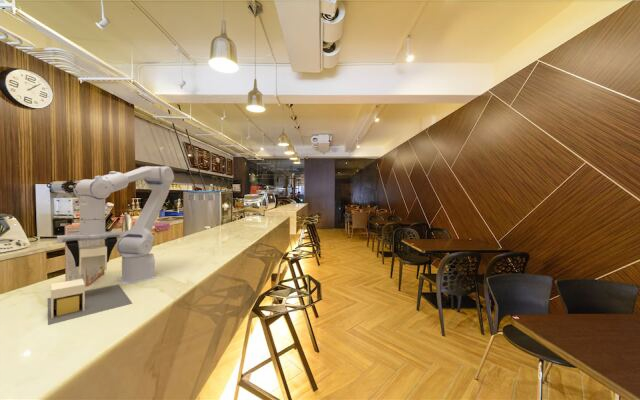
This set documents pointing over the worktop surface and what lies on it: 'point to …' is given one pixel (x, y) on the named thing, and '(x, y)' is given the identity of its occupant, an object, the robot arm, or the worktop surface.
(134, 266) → the robot arm
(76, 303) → the cube
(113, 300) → the mat
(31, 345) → the worktop surface
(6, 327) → the worktop surface
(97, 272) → the cracker box
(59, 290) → the box
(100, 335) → the worktop surface
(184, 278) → the worktop surface
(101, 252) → the box
